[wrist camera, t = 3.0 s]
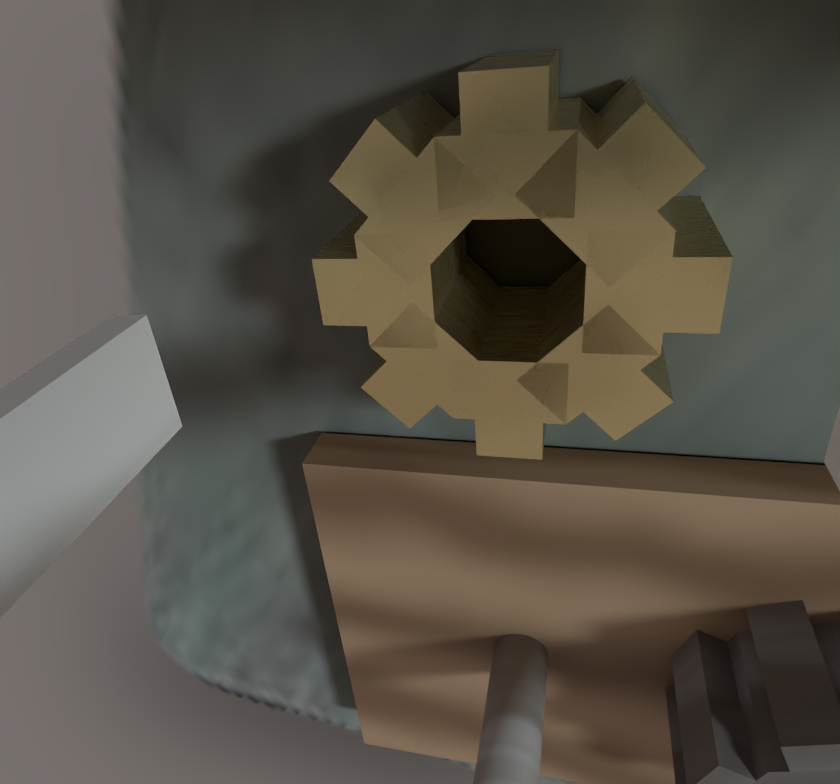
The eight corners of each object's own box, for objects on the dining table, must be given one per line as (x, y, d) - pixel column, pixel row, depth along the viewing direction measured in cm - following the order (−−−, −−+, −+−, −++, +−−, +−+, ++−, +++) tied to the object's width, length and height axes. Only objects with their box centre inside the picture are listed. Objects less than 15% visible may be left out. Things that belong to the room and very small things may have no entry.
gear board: (321, 432, 25) (206, 615, 18) (1131, 485, 19) (1479, 798, 12) (375, 707, 34) (315, 904, 27) (934, 802, 28) (1057, 1091, 21)
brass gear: (352, 65, 18) (281, 85, 14) (721, 35, 16) (768, 49, 11) (389, 364, 23) (345, 446, 19) (675, 374, 21) (695, 470, 16)
